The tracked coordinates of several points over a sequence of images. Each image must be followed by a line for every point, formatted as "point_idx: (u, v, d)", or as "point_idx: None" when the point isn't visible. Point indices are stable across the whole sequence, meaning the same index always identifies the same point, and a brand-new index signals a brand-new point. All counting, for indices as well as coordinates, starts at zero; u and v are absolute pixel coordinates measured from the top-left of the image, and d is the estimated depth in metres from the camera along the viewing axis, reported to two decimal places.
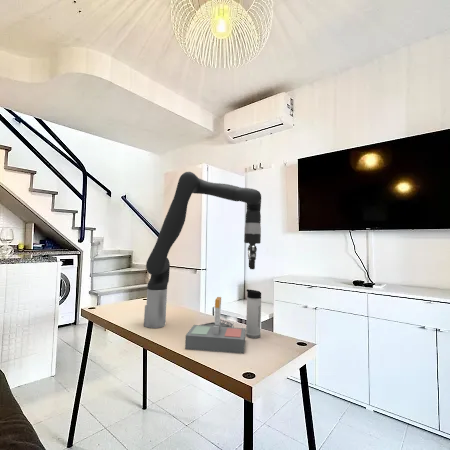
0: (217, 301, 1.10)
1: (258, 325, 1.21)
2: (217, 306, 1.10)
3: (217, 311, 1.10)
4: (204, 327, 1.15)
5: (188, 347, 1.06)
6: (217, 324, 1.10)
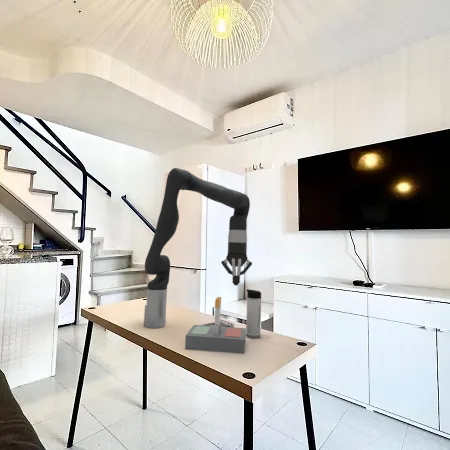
0: (217, 301, 1.10)
1: (258, 325, 1.21)
2: (217, 306, 1.10)
3: (217, 311, 1.10)
4: (204, 327, 1.15)
5: (188, 347, 1.06)
6: (217, 324, 1.10)
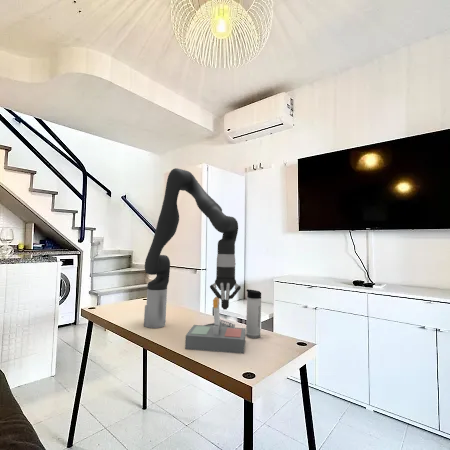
0: (215, 301, 1.10)
1: (258, 325, 1.21)
2: (215, 306, 1.10)
3: (216, 311, 1.11)
4: (204, 327, 1.15)
5: (188, 347, 1.06)
6: (217, 324, 1.10)
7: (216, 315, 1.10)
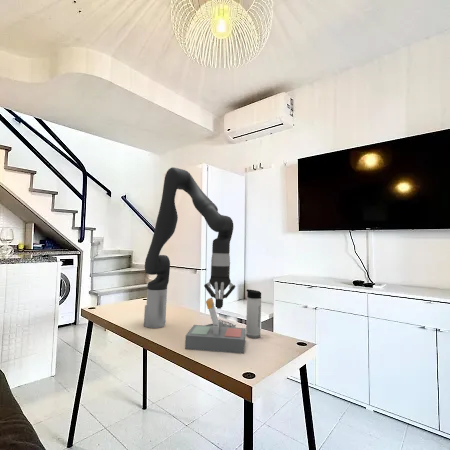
0: (208, 302, 1.10)
1: (258, 325, 1.21)
2: (209, 307, 1.10)
3: (211, 312, 1.11)
4: (204, 327, 1.15)
5: (188, 347, 1.06)
6: (215, 324, 1.10)
7: (213, 315, 1.11)
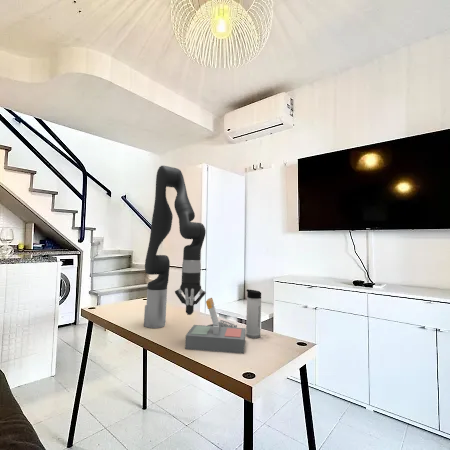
0: (208, 302, 1.10)
1: (258, 325, 1.21)
2: (209, 307, 1.10)
3: (211, 312, 1.11)
4: (204, 327, 1.15)
5: (188, 347, 1.06)
6: (215, 324, 1.10)
7: (213, 315, 1.11)
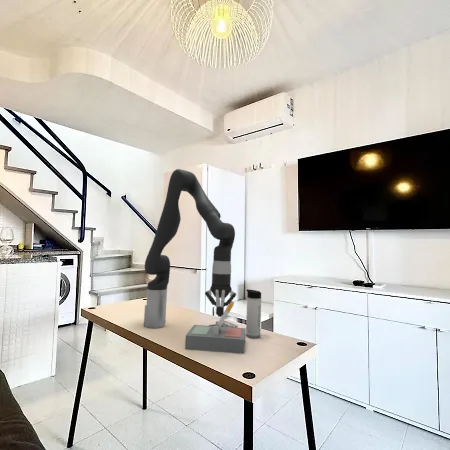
0: (230, 306, 1.09)
1: (258, 325, 1.21)
2: (228, 310, 1.09)
3: (225, 314, 1.10)
4: (204, 327, 1.15)
5: (188, 347, 1.06)
6: (219, 325, 1.10)
7: (223, 317, 1.10)
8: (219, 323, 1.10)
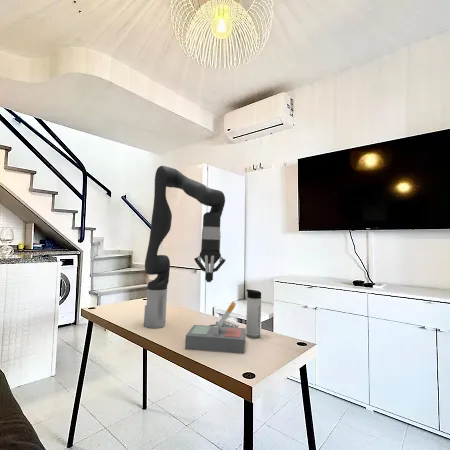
0: (232, 307, 1.09)
1: (258, 325, 1.21)
2: (229, 311, 1.09)
3: (226, 315, 1.10)
4: (204, 327, 1.15)
5: (188, 347, 1.06)
6: (219, 325, 1.10)
7: (224, 318, 1.10)
8: (219, 323, 1.10)
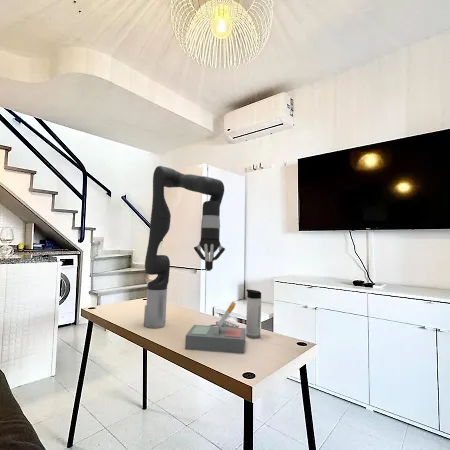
0: (232, 307, 1.09)
1: (258, 325, 1.21)
2: (229, 311, 1.09)
3: (226, 315, 1.10)
4: (204, 327, 1.15)
5: (188, 347, 1.06)
6: (219, 325, 1.10)
7: (224, 318, 1.10)
8: (219, 323, 1.10)
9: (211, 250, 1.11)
